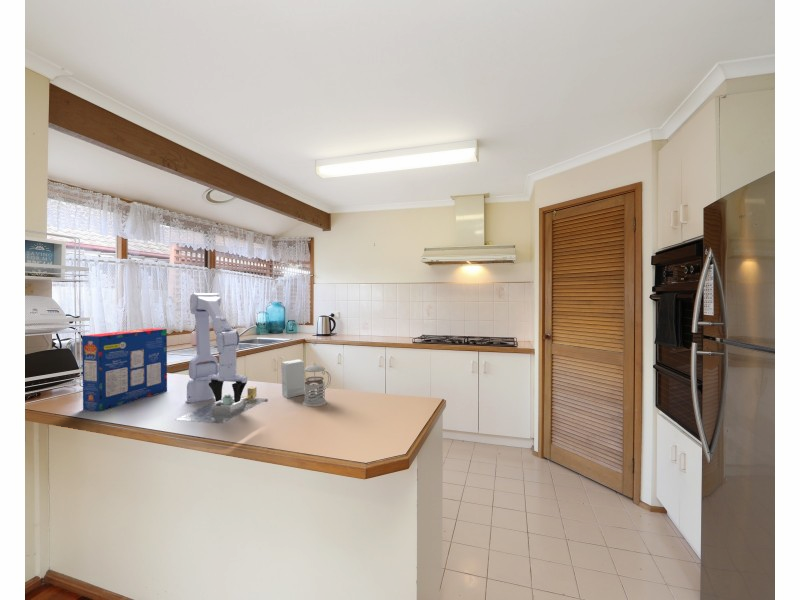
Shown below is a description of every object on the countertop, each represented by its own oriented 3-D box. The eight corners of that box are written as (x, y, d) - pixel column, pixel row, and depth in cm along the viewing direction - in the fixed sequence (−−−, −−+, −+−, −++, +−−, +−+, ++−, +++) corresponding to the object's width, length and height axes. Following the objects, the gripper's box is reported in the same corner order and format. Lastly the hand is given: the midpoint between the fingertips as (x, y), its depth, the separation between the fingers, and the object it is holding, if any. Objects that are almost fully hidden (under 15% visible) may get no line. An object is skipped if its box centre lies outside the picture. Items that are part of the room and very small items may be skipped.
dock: (174, 422, 116) (174, 410, 116) (228, 398, 143) (228, 389, 143) (221, 426, 113) (221, 414, 113) (267, 401, 140) (267, 391, 140)
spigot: (220, 412, 124) (220, 396, 124) (226, 409, 127) (226, 393, 127) (228, 412, 123) (228, 396, 123) (234, 409, 126) (234, 394, 126)
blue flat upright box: (152, 389, 156) (152, 328, 155) (167, 391, 154) (166, 328, 153) (83, 410, 128) (82, 335, 128) (99, 411, 126) (98, 336, 126)
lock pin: (235, 404, 131) (235, 393, 131) (251, 396, 141) (251, 386, 141) (240, 404, 130) (240, 394, 130) (256, 396, 140) (256, 387, 140)
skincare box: (299, 391, 153) (299, 358, 153) (305, 395, 149) (305, 360, 148) (280, 395, 148) (280, 361, 148) (286, 398, 143) (286, 363, 143)
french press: (298, 401, 139) (298, 340, 139) (324, 396, 146) (325, 338, 146) (307, 408, 132) (307, 343, 131) (335, 402, 138) (335, 340, 138)
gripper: (202, 365, 122) (202, 403, 122) (238, 367, 119) (238, 405, 120) (216, 361, 129) (216, 397, 129) (250, 363, 126) (250, 399, 127)
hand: (227, 401), depth 125 cm, fingers open, 7 cm apart
